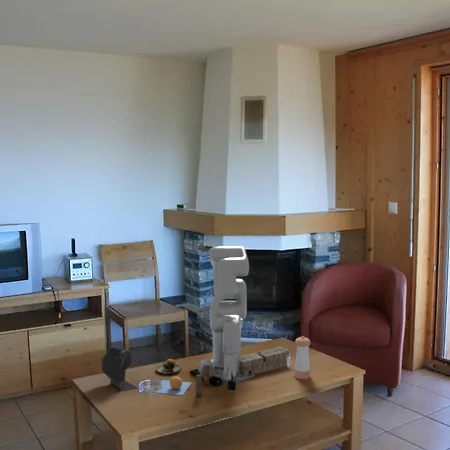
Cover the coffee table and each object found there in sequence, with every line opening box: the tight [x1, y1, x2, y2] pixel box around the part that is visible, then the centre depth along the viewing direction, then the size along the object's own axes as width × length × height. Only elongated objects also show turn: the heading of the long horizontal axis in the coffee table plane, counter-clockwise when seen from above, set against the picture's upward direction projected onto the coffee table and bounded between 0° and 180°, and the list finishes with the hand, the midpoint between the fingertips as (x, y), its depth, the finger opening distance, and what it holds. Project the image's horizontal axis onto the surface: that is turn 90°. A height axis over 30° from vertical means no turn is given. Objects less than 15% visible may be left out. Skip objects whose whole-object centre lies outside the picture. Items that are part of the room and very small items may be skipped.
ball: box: [169, 375, 183, 389], centre depth 246 cm, size 6×6×6 cm
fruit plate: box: [155, 358, 182, 376], centre depth 268 cm, size 12×12×8 cm
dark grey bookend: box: [101, 346, 139, 392], centre depth 250 cm, size 14×15×18 cm
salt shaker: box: [293, 335, 311, 380], centre depth 260 cm, size 7×7×19 cm
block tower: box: [236, 346, 290, 378], centre depth 270 cm, size 8×8×29 cm
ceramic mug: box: [197, 358, 222, 378], centre depth 261 cm, size 10×8×7 cm
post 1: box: [195, 374, 203, 398], centre depth 238 cm, size 3×3×9 cm
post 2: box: [203, 365, 210, 387], centre depth 251 cm, size 3×3×9 cm
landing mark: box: [153, 379, 192, 396], centre depth 248 cm, size 14×14×1 cm
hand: (231, 389), depth 242 cm, fingers closed
